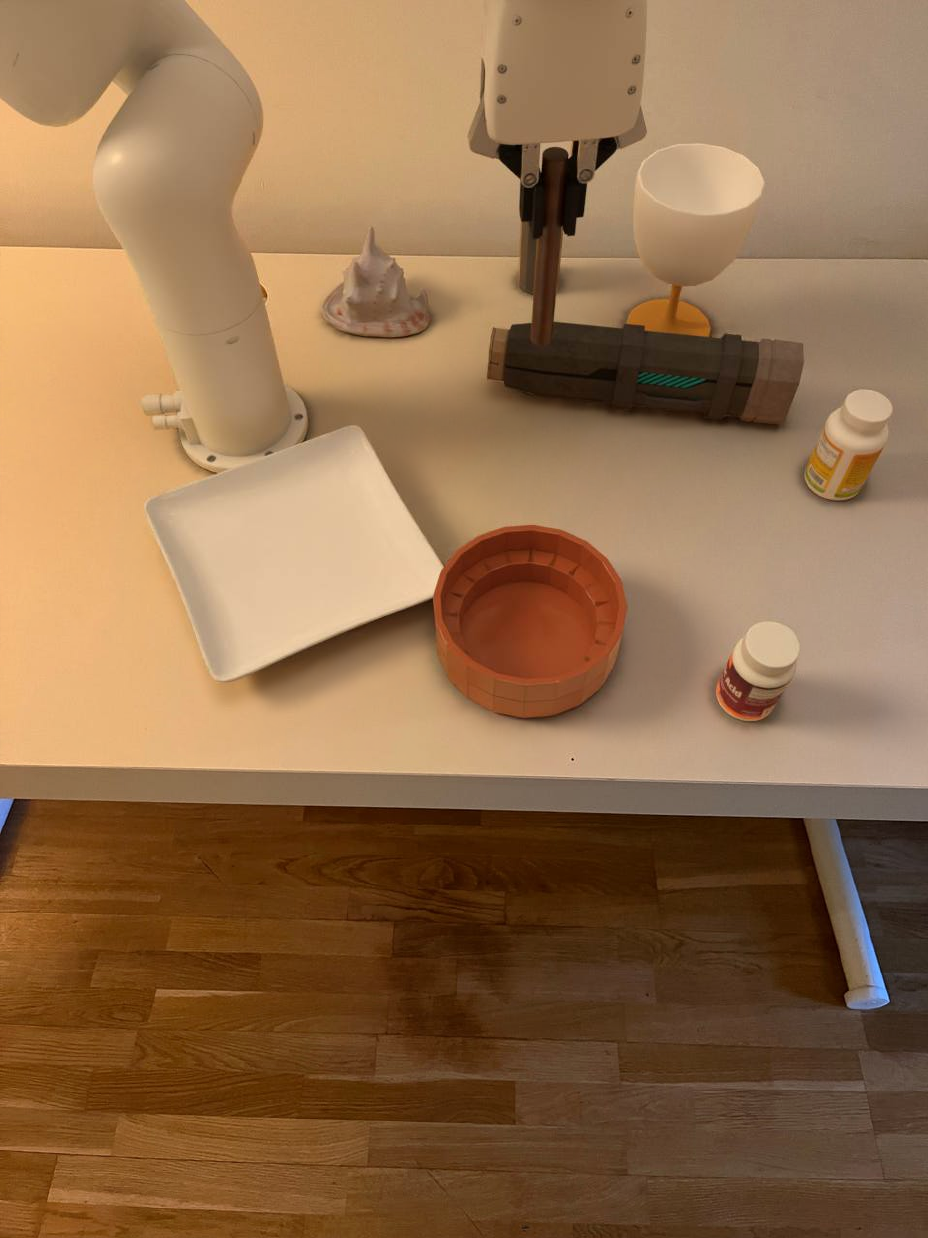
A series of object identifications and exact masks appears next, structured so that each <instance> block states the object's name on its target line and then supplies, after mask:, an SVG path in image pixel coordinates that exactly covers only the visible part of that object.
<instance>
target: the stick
mask: <svg viewBox="0 0 928 1238" xmlns="http://www.w3.org/2000/svg"><path fill="white" fill-rule="evenodd" d="M569 155H570V153H569V152H568V150H566V149H565V148H563V147H560V146H551V147H547V148H546V149H544V150H543V151H542V155H541V168H540V171H541V174H542V180H543V182H544V186H545V204H544V219H543V234H542V236H540V238H539V239H537V247H536V262H535V278H534V294H532V295H533V296H532V311H531V323H532V325H531V341H532V342H533V343H534V344H536V345H539V346H545V345H548V344H549V343H550V342H551V341H552V336H553V325H554V322H555V314H556V313H555V312H556V301H557V290H558V286H557V280H558V269H559V257H560V246H561V235H562V223H563V211H564V200H565V189H566V178H567V168H568V159H569V157H570V156H569Z"/></svg>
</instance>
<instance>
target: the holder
mask: <svg viewBox="0 0 928 1238" xmlns="http://www.w3.org/2000/svg"><path fill="white" fill-rule="evenodd" d="M519 225H520V226H519V246H518V247H519V248H518V249H519V250H518V268H517V269H518V271H517V278H518V279H517V280H518V281H517V282H518V283H517V284H518V286H519V288H520V289H521V290H522V291H524V292H525V293H527V294H530V295H533V294H534V278H535V262H536V247H537V239H532V236H531V232H530V228H529V224H528V222H521V221H520V224H519ZM563 238H564V231H563V227H562V235H561V246H560V257H559V269H558V280H557V287H558V285H559V281H560V272H561V262H562V261H561V260H562V249H563V240H564V239H563Z"/></svg>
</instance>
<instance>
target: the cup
mask: <svg viewBox="0 0 928 1238" xmlns="http://www.w3.org/2000/svg"><path fill="white" fill-rule="evenodd" d="M765 186H766V182H765V180H764V178H763V175H762V173H761V171H760V168H759V167H758V166H757V165H756V164H755V163H754V162H752V161H751V160H750V159H749V158H748V157H746V155H743V154H741V153H739V152H736V151H734V150H732V149H729V148H727V147H725V146H720V145H719V146H718V145H713V144H707V143H701V142H700V143H677V144H674V145H670V146H667V147H664V148H660V149H657V150H656V151H655V152H653V153H652V154H650V155H649V156H647V157H646V158H645V159H643V161H642V162H641V163H640V166H639V168H638V171H637V173H636V178H635V187H634V196H633V214H632V215H633V217H632V219H633V220H632V229H633V236H634V243H635V247H636V251H637V255H638V257H639V258H640V261H641V262H642V265H643V266H644V268H645V269H646V270H647V271H648V272H649V273H651V275H652V276H653V277H654V278H656V279H658V280H660V281H662V282H664V283H665V284H668V285H671V289H670V294H669V298H659V299H658V298H657V299H651V300H648V301H646V302H645V301H644V302H642V303H639V304H638V305H637V306H636V307H634V309H632V310H631V311H629V314H628V315H627V316H628V317H627V319H626V321H625V324H634V325H644V326H645V331H654V332H664V333H674V334H684V335H694V336H704V337H710V334H711V330H712V328H711V325H710V322H709V318H707V316H706V315H705V314H704V313H703V312H702V311H701V310H700V309H699V308H697V307H695V306H694V305H691V304H689V303H688V302H686V301H682V300H680V297H681V294H682V293H681V292H682V289H683V287H696V286H699V285H703V284H705V283H709V282H711V281H713V280H714V279H716V277H718V276H719V275H721V273H722V272H724V271H725V270H726V269H727V268H729V266H731V265H732V264H733V263H734V262H735V260H736V259H737V257H738V255H739V254H740V252H741V250H742V249H743V247H744V244H745V242H746V240H747V237H748V235H749V233H750V230H751V227H753V223H754V220H755V217H756V214H757V211H758V209H759V205H760V202H761V199H762V196H763V194H764V193H763V192H764V189H765Z"/></svg>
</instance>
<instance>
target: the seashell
mask: <svg viewBox="0 0 928 1238" xmlns="http://www.w3.org/2000/svg"><path fill="white" fill-rule="evenodd" d="M366 233H367V234H366V237H365V240H364V243H363V246H362V249H361V253H360V255H358V256H355V257H353V258H352V259H351V261H350V264H349V266H348V267H346V268H345V269H344V270H342V275H343V281H342V282H341V283H340V284H339V285H337V286H336V287H335V288H334V289H333V290H332V291H331V292H330V293H329V294H328V295H327V297H326V298H325V299H324V301H323V303H322V305H321V314H322V316H323V318H324V319H325V321H326V322H327V323H329V324H330V325H332V326H333V327H335V328H336V329H338V330H339V331H341V332H344V333H347V334H352V335H356V336H363V337H379V338H400V337H407V336H412V335H415V334H418V333H421V332H423V331H425V330H426V329H427V328H428V327H429V325H430V323H431V315H430V313H429V309H428V307H429V294H428V291H427V290H426V289H425V288H423V289H422V291H421V292H420V294H419V295H418V296H417V297H415V298H412V299H411V296H410V292H409V289H408V286H407V282H406V278H405V275H404V274H405V271H404V268H403V267H401V266H399V264H398V263H397V262H396V261H397V260H396V258H395V257H391V256H390V255H389V254H387V252H385V251H384V250H383V249H382V248H381V246H380V245H379V244H378V242H377V241H376V239H375V235H376V234H375V229H374V226H372V225H369V226H368V228H367V232H366Z"/></svg>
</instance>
